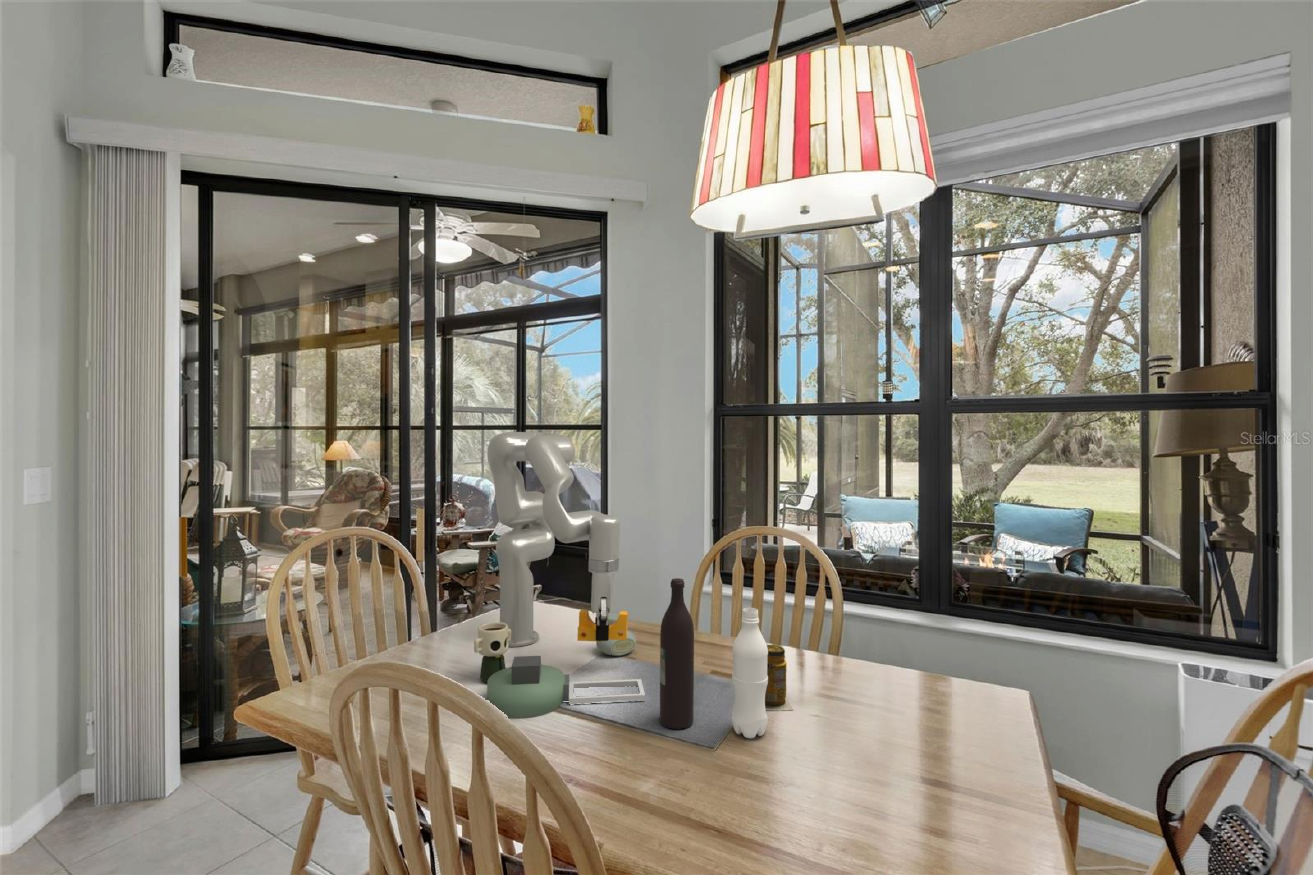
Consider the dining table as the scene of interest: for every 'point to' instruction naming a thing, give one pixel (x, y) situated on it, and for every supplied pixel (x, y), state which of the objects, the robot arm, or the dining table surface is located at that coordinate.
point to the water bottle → (749, 677)
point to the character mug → (492, 647)
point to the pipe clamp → (589, 627)
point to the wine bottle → (677, 662)
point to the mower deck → (544, 689)
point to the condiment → (776, 680)
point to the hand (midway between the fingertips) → (601, 635)
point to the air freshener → (617, 641)
